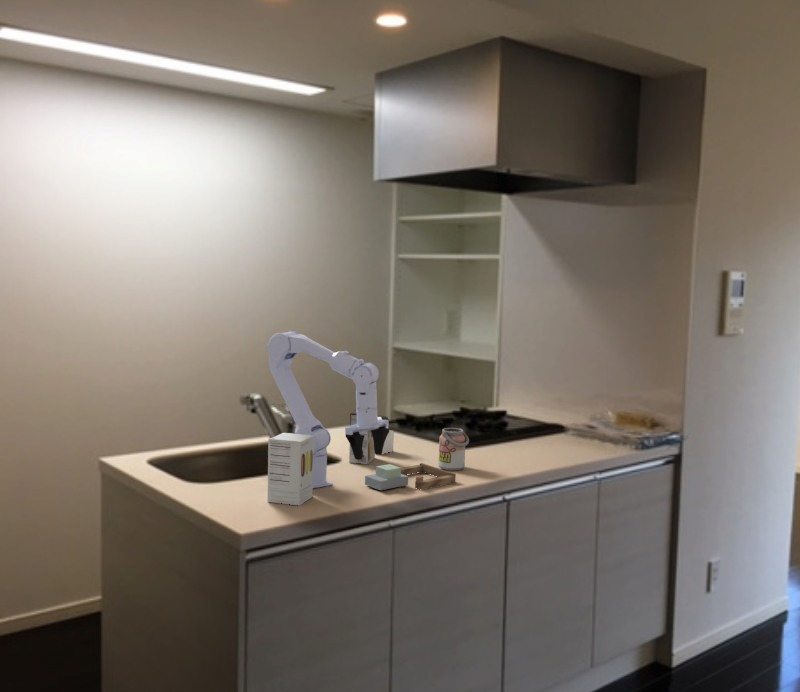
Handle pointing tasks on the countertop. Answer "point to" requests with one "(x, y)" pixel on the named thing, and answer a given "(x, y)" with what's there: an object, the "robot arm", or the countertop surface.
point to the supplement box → (290, 468)
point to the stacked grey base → (386, 478)
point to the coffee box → (367, 446)
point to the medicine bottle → (387, 438)
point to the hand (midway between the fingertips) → (368, 456)
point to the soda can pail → (452, 449)
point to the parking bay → (441, 478)
